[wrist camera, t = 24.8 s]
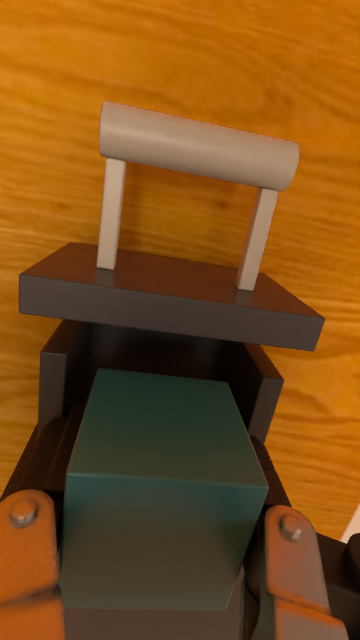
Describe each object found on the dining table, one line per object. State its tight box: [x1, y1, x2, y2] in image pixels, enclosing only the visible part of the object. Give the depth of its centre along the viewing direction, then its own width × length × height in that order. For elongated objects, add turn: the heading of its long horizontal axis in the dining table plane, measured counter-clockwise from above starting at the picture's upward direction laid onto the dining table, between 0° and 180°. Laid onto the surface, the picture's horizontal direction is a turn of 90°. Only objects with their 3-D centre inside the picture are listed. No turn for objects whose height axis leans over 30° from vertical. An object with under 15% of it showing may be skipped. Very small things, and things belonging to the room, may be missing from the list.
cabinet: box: [0, 423, 245, 640], centre depth 18 cm, size 11×10×8 cm
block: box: [58, 368, 269, 611], centre depth 10 cm, size 4×4×4 cm
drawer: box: [19, 101, 325, 445], centre depth 14 cm, size 15×9×6 cm, turn 170°
